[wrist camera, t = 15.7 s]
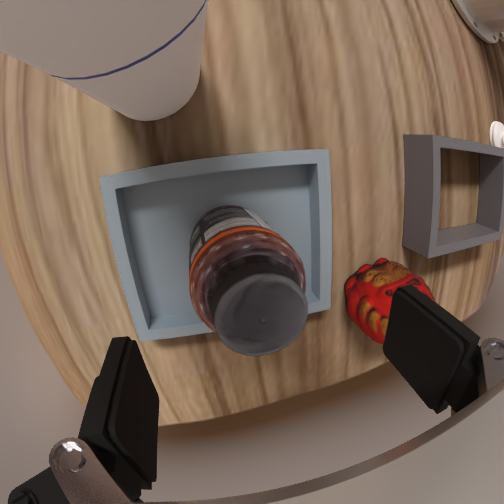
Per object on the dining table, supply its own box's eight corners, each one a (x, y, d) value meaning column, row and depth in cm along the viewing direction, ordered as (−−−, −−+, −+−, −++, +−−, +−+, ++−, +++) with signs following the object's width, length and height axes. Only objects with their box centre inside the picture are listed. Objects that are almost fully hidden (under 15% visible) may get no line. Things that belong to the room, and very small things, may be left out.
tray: (315, 149, 21) (328, 149, 19) (319, 295, 26) (330, 308, 24) (109, 174, 19) (99, 177, 17) (143, 325, 23) (140, 341, 21)
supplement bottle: (265, 275, 23) (320, 365, 13) (191, 279, 22) (195, 381, 12) (268, 202, 22) (338, 248, 11) (188, 204, 20) (182, 256, 10)
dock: (483, 146, 25) (506, 149, 21) (479, 229, 28) (501, 238, 25) (403, 134, 22) (432, 134, 19) (402, 245, 26) (427, 258, 22)
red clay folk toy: (397, 244, 26) (516, 313, 12) (400, 300, 29) (493, 378, 15) (332, 273, 25) (444, 377, 12) (343, 330, 28) (426, 434, 14)
